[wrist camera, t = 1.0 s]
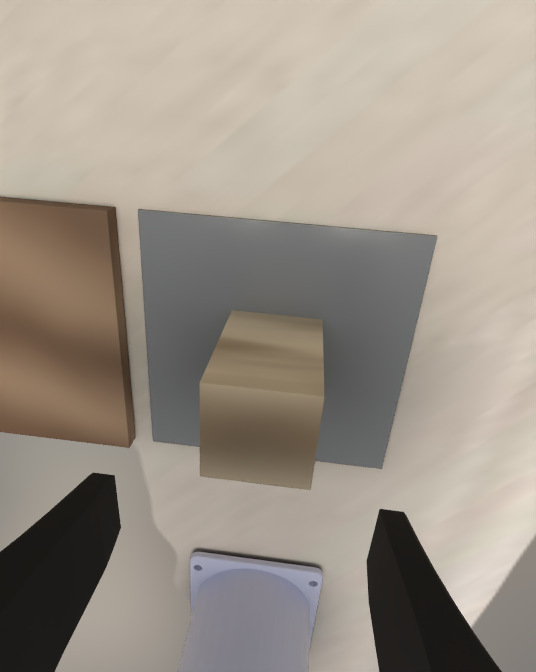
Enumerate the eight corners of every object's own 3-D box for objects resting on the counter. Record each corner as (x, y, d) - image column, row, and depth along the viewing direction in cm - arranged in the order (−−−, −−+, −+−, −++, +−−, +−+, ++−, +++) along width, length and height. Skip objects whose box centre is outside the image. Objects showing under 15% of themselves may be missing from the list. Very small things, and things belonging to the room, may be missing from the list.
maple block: (312, 395, 21) (310, 490, 16) (229, 386, 21) (199, 476, 16) (322, 319, 19) (324, 396, 14) (232, 310, 20) (199, 382, 14)
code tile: (381, 467, 23) (381, 469, 23) (153, 439, 23) (152, 441, 23) (436, 235, 17) (437, 236, 17) (138, 209, 18) (137, 209, 18)
